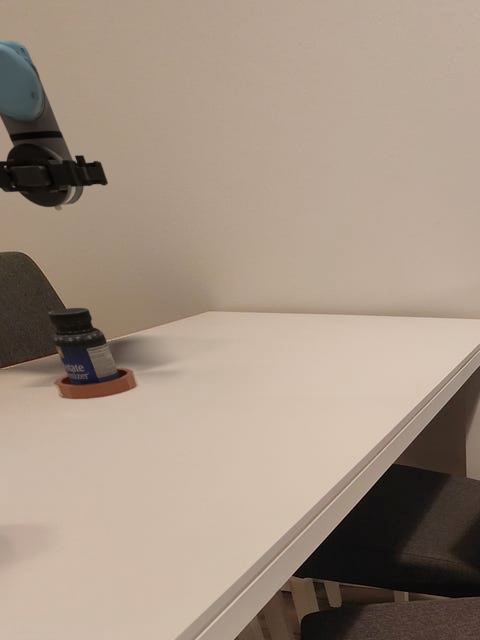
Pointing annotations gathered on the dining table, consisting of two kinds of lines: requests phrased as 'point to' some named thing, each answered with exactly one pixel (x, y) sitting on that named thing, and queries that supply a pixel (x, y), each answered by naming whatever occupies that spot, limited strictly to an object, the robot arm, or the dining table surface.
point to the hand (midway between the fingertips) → (9, 175)
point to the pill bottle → (82, 347)
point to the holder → (97, 386)
